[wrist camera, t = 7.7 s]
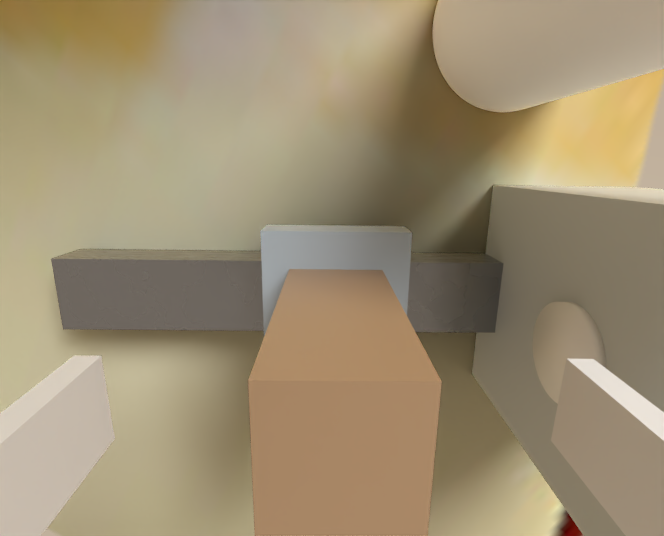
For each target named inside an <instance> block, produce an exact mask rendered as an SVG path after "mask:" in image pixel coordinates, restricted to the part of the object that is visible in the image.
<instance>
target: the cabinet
mask: <svg viewBox="0 0 664 536" xmlns="http://www.w3.org/2000/svg"><path fill="white" fill-rule="evenodd" d="M486 254H487V255H489V256H491V257H493V258H495V259H496V260H498V261H500V262H502V263H504V264H503V272H502V280H501V288H500V296H499V304H498V312H497V319H496V327H495V333H477V332H476V341H475V350H474V359H473V368H472V375H473V377H474V378H475V379H476V381H477V382H478V384H479V385H480V387H481V388H482V390H483V391H484V392H485V394H486V395H487V397H488V398H489V400H490V401H491V403H492V404H493V405H494V407H495V408H496V410H497V411H498V413H499V414H500V415H501V417H502V418H503V420H504V421H505V423H506V424H507V426H508V427H509V428H510V430H511V431H512V433H513V434H514V436H515V437H516V439H517V440H518V441H519V443H520V444H521V446H522V447H523V449H524V450H525V451H526V453H527V454H528V456H529V457H530V459H531V460H532V462H533V463H534V464H535V466H536V467H537V469H538V470H539V472H540V473H541V475H542V476H543V477H544V479H545V480H546V482H547V483H548V485H549V486H550V488H551V489H552V490H553V492H554V493H555V495H556V496H557V498H558V499H559V500H560V502H561V503H562V505H563V506H564V508H565V509H566V511H567V512H568V513H569V515H570V516H571V518H572V519H573V521H574V522H575V524H576V525H577V526H578V528H579V529H580V531H581V532H582V534H583V535H584V536H625V534H624V533H623V532H622V531H621V529H620V528H619V527H618V526H617V524H616V523H615V522H614V520H613V519H612V518H611V517H610V515H609V514H608V513H607V512H606V510H605V509H604V508H603V506H602V505H601V504H600V503H599V501H598V500H597V499H596V498H595V496H594V495H593V494H592V492H591V491H590V490H589V489H588V487H587V486H586V485H585V483H584V482H583V481H582V480H581V478H580V477H579V476H578V475H577V473H576V472H575V471H574V469H573V468H572V467H571V466H570V464H569V463H568V462H567V461H566V459H565V458H564V457H563V455H562V454H561V453H560V452H559V450H558V449H557V448H556V447H555V445H554V444H553V443H552V441H551V437H552V432H553V427H554V421H555V416H556V411H557V406H558V401H559V395H560V390H561V385H562V380H563V375H564V369H565V364H566V359H594V360H596V361H597V362H598V363H599V364H601V365H602V366H603V367H605V368H606V369H607V370H609V371H610V372H611V373H613V374H614V375H615V376H617V377H618V378H619V379H620V380H622V381H623V382H624V383H626V384H627V385H628V386H630V387H631V388H632V389H634V390H635V391H636V392H638V393H639V394H640V395H642V396H643V397H644V398H645V399H647V400H648V401H649V402H651V403H652V404H653V405H655V406H656V407H657V408H659V409H660V410H661V411H663V412H664V189H654V188H640V187H598V186H523V185H493V191H492V200H491V209H490V218H489V227H488V235H487V244H486Z"/></svg>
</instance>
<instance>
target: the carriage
mask: <svg viewBox="0 0 664 536" xmlns="http://www.w3.org/2000/svg"><path fill="white" fill-rule="evenodd" d="M411 245H412V232H411V231H410V230H408V229H407V228H406V227H405V226H346V225H266V226H265V227H264V228H263V229H262V230H261V261H262V292H263V324H264V339H263V341H262V344H261V347H260V350H259V352H258V355H257V358H256V360H255V363H254V366H253V368H252V371H251V374H250V377H249V379H248V391H249V414H250V436H251V459H252V482H253V504H254V527H255V536H427V535H428V525H429V514H430V503H431V492H432V482H433V471H434V460H435V449H436V438H437V428H438V417H439V406H440V395H441V384H442V381H441V379H440V377H439V376H438V374H437V372H436V370H435V368H434V366H433V364H432V362H431V360H430V359H429V357H428V355H427V353H426V351H425V349H424V347H423V345H422V344H421V342H420V340H419V338H418V336H417V334H416V332H415V330H414V328H413V327H412V325H411V323H410V321H409V319H408V317H407V306H408V291H409V275H410V260H411Z"/></svg>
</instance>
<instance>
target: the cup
mask: <svg viewBox="0 0 664 536" xmlns="http://www.w3.org/2000/svg"><path fill="white" fill-rule="evenodd" d="M432 37H433V47H434V53H435V57H436V61H437V64H438V67H439V69H440V71H441V73H442V75H443V77H444V79H445V80H446V82H447V83H448V85H449V86H450V87H451V89H452V90H453V91H454V92H455V93H456V94H457V95H458V96H460V97H461V98H462V99H463V100H465V101H466V102H468V103H469V104H471V105H473V106H475V107H478V108H480V109H483V110H487V111H492V112H513V111H519V110H523V109H527V108H530V107H534V106H537V105H540V104H544V103H547V102H551V101H554V100H558V99H561V98H565V97H568V96H571V95H575V94H578V93H582V92H585V91H589V90H592V89H596V88H599V87H603V86H606V85H609V84H613V83H616V82H620V81H623V80H627V79H630V78H634V77H637V76H641V75H644V74H647V73H651V72H654V71H658V70H661V69H664V0H438V2H437V6H436V9H435V14H434V19H433V34H432Z"/></svg>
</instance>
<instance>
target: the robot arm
mask: <svg viewBox="0 0 664 536" xmlns="http://www.w3.org/2000/svg"><path fill="white" fill-rule="evenodd" d="M114 439H115V436H114V430H113V424H112V418H111V412H110V406H109V399H108V393H107V387H106V381H105V375H104V369H103V362H102V356H79V355H74V356H73V357H71V358H70V359H69V360H67V361H66V362H65V363H64V364H62V365H61V366H60V367H58V368H57V369H56V370H55V371H53V372H52V373H51V374H49V375H48V376H47V377H46V378H44V379H43V380H42V381H40V382H39V383H38V384H37V385H35V386H34V387H33V388H31V389H30V390H29V391H28V392H26V393H25V394H24V395H23V396H21V397H20V398H19V399H17V400H16V401H15V402H14V403H12V404H11V405H10V406H8V407H7V408H6V409H5V410H3V411H2V412H1V413H0V536H42V534H43V533H44V532H45V530H46V529H47V528H48V526H49V525H50V524H51V523H52V521H53V520H54V519H55V517H56V516H57V515H58V513H59V512H60V511H61V509H62V508H63V507H64V505H65V504H66V503H67V501H68V500H69V499H70V497H71V496H72V495H73V493H74V492H75V491H76V490H77V488H78V487H79V486H80V484H81V483H82V482H83V480H84V479H85V478H86V476H87V475H88V474H89V472H90V471H91V470H92V468H93V467H94V466H95V464H96V463H97V462H98V460H99V459H100V458H101V457H102V455H103V454H104V453H105V451H106V450H107V449H108V447H109V446H110V445H111V443H112V442H113V441H114ZM551 441H552V443H553V444H554V445H555V447H556V448H557V449H558V450H559V452H560V453H561V454H562V455H563V457H564V458H565V459H566V461H567V462H568V463H569V464H570V466H571V467H572V468H573V469H574V471H575V472H576V473H577V475H578V476H579V477H580V478H581V480H582V481H583V482H584V483H585V485H586V486H587V487H588V489H589V490H590V491H591V492H592V494H593V495H594V496H595V498H596V499H597V500H598V501H599V503H600V504H601V505H602V506H603V508H604V509H605V510H606V512H607V513H608V514H609V515H610V517H611V518H612V519H613V520H614V522H615V523H616V524H617V526H618V527H619V528H620V529H621V531H622V532H623V533H624V534H625V536H664V412H663V411H661V410H660V409H659V408H657V407H656V406H655V405H653V404H652V403H651V402H649V401H648V400H647V399H645V398H644V397H643V396H642V395H640V394H639V393H638V392H636V391H635V390H634V389H632V388H631V387H630V386H628V385H627V384H626V383H624V382H623V381H622V380H620V379H619V378H618V377H617V376H615V375H614V374H613V373H611V372H610V371H609V370H607V369H606V368H605V367H603V366H602V365H601V364H599V363H598V362H597V361H596V360H594V359H566V364H565V369H564V375H563V380H562V385H561V390H560V395H559V401H558V406H557V411H556V416H555V421H554V427H553V432H552V437H551Z"/></svg>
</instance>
